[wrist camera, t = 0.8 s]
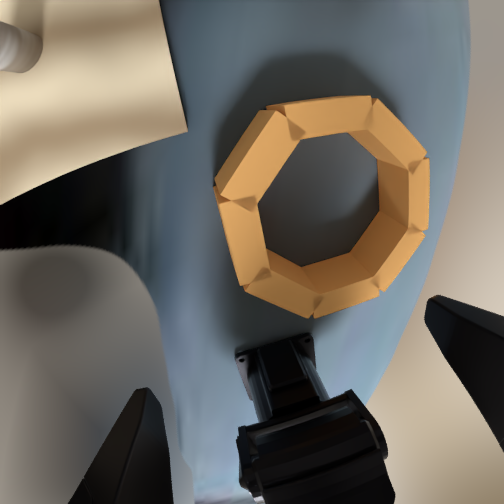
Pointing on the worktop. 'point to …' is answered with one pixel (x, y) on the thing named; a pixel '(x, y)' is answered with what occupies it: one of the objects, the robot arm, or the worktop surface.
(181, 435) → the worktop surface
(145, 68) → the hook stand
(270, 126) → the orange octagonal ring
